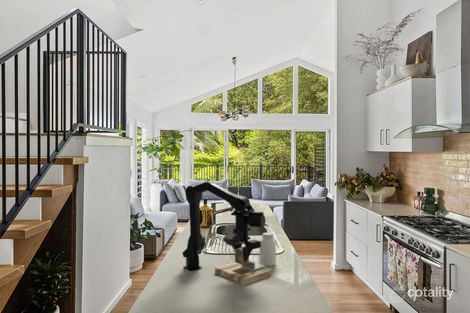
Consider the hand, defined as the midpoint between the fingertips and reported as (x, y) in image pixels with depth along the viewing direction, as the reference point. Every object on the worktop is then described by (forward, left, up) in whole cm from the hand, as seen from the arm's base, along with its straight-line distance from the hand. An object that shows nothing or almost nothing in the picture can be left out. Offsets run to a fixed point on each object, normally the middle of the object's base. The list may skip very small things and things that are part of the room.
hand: (241, 260), depth 162 cm
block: (0, 0, -1) cm, 1 cm away
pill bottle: (-4, +21, -7) cm, 23 cm away
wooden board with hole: (-2, +2, -7) cm, 8 cm away
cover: (0, +7, -4) cm, 8 cm away
